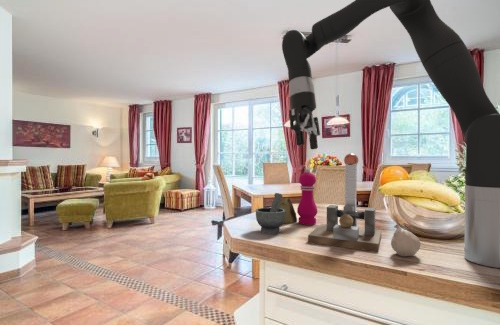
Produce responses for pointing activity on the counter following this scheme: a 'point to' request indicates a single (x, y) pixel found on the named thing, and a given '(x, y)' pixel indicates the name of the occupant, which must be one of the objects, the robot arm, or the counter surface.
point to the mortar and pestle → (271, 216)
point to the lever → (351, 189)
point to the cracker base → (343, 243)
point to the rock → (288, 210)
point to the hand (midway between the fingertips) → (307, 147)
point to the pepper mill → (307, 199)
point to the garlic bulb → (405, 242)
